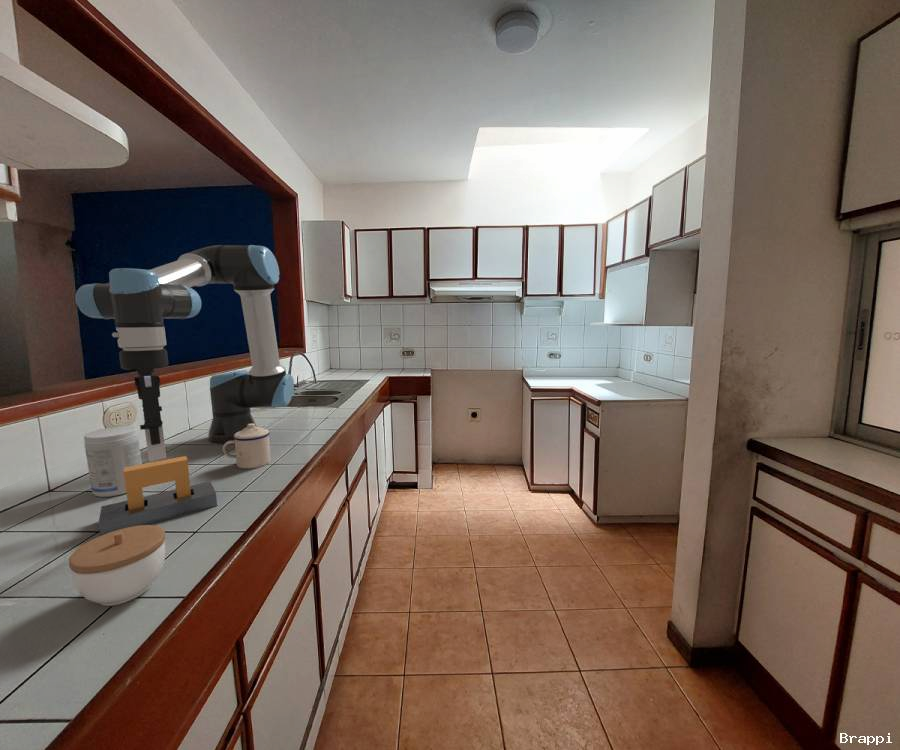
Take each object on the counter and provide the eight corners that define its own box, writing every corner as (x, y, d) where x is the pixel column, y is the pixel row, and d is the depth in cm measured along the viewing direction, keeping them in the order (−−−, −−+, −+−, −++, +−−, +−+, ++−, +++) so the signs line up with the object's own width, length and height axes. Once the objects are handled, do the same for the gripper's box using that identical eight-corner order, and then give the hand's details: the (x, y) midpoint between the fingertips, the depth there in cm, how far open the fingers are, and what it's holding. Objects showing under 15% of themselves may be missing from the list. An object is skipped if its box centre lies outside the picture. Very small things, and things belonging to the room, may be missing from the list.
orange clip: (190, 502, 84) (186, 455, 83) (192, 507, 82) (187, 459, 81) (130, 517, 78) (124, 467, 76) (130, 523, 75) (123, 472, 74)
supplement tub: (136, 478, 98) (129, 423, 96) (151, 486, 93) (144, 429, 91) (86, 492, 90) (77, 432, 88) (99, 502, 85) (90, 439, 83)
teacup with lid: (272, 456, 114) (270, 418, 112) (269, 466, 105) (267, 426, 104) (227, 461, 110) (224, 422, 108) (220, 472, 101) (217, 431, 99)
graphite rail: (103, 520, 77) (101, 506, 77) (211, 493, 89) (210, 481, 89) (100, 537, 71) (98, 522, 70) (217, 505, 83) (216, 492, 82)
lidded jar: (107, 573, 61) (100, 519, 59) (182, 563, 63) (176, 511, 62) (55, 625, 50) (44, 561, 49) (147, 611, 53) (139, 549, 51)
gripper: (120, 345, 82) (133, 438, 85) (115, 354, 63) (132, 473, 66) (163, 344, 87) (173, 432, 90) (171, 351, 68) (183, 463, 71)
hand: (156, 450), depth 78 cm, fingers open, 13 cm apart
